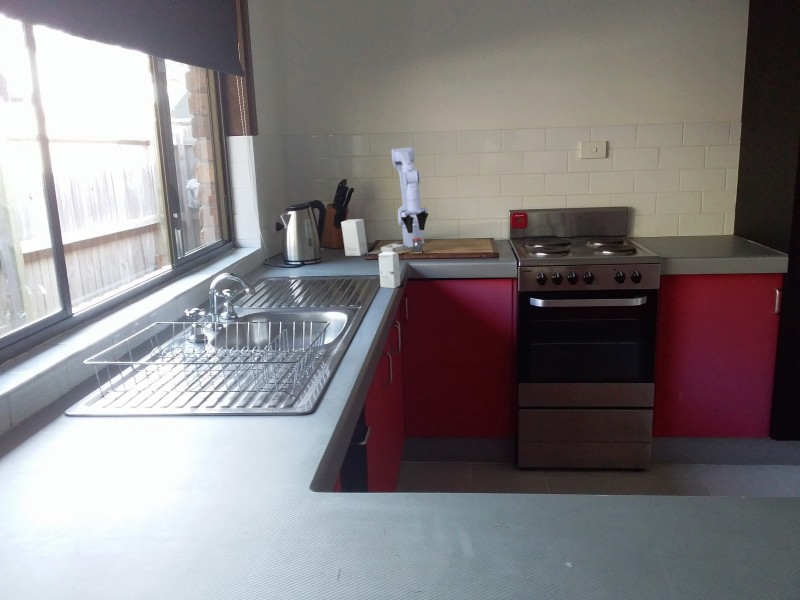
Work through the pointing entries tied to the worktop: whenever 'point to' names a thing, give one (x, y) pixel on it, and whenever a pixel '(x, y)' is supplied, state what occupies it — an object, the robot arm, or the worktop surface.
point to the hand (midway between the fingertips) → (416, 231)
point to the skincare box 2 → (389, 269)
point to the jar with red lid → (417, 244)
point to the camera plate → (392, 248)
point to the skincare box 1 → (354, 237)
